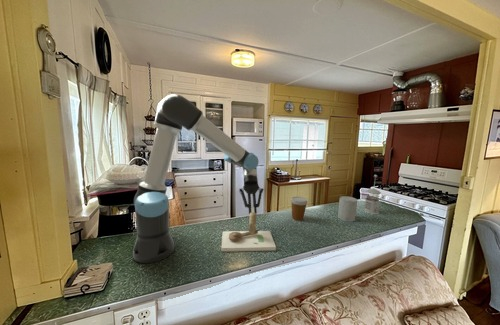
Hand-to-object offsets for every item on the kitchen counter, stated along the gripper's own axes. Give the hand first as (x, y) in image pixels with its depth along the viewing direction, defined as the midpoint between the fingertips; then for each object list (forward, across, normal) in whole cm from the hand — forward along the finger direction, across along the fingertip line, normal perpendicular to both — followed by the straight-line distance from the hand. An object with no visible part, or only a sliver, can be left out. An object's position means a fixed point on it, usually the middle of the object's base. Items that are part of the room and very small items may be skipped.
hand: (253, 220), depth 96 cm
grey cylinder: (-6, +58, +19) cm, 62 cm away
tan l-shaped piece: (+7, -5, +1) cm, 8 cm away
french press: (-12, +82, +26) cm, 86 cm away
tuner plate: (+9, -3, +1) cm, 10 cm away
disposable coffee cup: (-7, +28, +19) cm, 35 cm away
